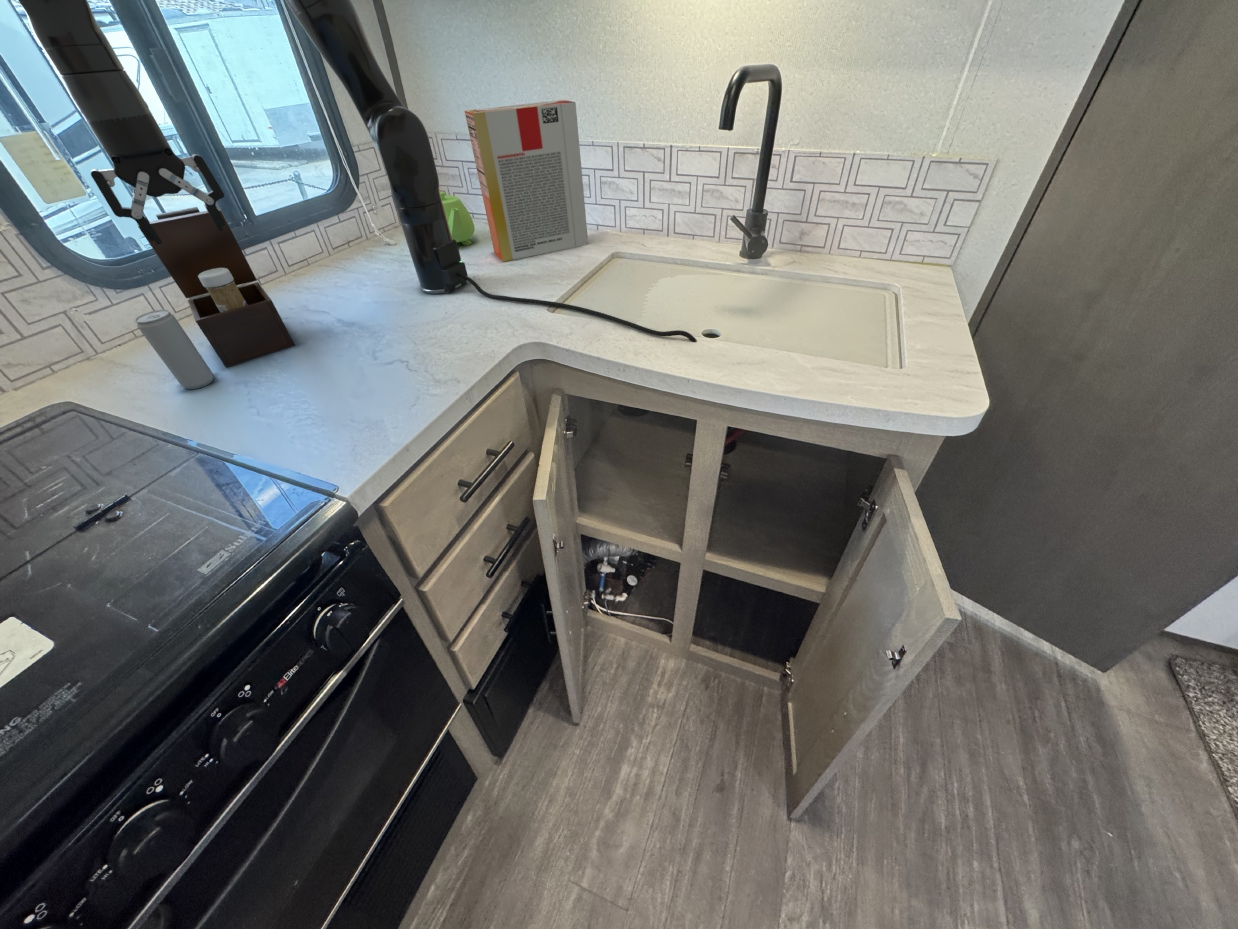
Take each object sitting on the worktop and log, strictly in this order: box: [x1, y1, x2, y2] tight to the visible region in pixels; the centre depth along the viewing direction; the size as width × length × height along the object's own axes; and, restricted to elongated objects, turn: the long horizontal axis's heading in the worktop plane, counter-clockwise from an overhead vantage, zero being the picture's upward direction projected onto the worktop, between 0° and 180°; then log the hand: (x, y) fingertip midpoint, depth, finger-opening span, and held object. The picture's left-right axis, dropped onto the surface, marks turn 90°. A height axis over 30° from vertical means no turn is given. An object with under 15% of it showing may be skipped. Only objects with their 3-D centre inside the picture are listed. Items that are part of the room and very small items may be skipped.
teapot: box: [440, 190, 476, 246], centre depth 132 cm, size 20×13×13 cm
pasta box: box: [464, 99, 589, 263], centre depth 118 cm, size 23×8×30 cm, turn 116°
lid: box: [136, 206, 258, 299], centre depth 87 cm, size 13×12×6 cm
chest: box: [187, 281, 296, 368], centre depth 91 cm, size 13×12×9 cm
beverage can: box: [134, 309, 215, 390], centre depth 80 cm, size 5×5×12 cm
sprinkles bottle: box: [198, 268, 248, 312], centre depth 88 cm, size 5×5×13 cm
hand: (191, 236), depth 80 cm, fingers open, 8 cm apart
